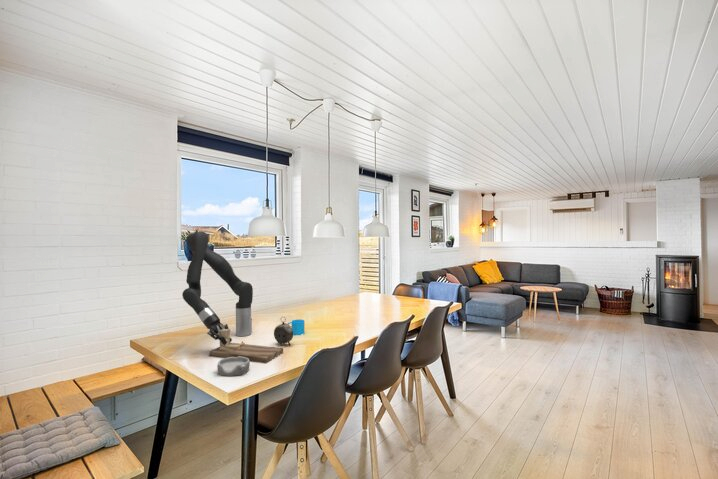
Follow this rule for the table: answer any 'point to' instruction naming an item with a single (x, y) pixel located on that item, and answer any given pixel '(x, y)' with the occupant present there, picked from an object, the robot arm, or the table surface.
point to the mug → (297, 326)
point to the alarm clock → (283, 333)
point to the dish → (233, 366)
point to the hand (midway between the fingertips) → (228, 342)
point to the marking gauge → (228, 346)
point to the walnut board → (249, 353)
